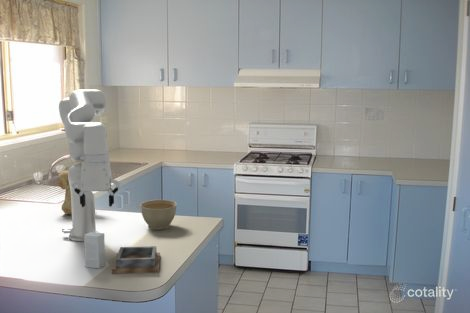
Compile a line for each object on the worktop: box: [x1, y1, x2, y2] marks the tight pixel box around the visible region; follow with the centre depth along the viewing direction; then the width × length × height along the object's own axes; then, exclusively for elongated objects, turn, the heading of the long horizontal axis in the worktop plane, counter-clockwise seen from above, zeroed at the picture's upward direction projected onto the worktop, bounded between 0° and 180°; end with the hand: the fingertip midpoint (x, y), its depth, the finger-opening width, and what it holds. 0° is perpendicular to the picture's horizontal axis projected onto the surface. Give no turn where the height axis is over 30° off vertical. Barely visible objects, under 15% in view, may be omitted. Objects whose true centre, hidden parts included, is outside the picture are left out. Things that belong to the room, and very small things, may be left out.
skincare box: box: [83, 232, 106, 269], centre depth 184 cm, size 6×4×12 cm
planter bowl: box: [140, 199, 178, 231], centre depth 231 cm, size 16×16×11 cm
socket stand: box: [111, 245, 161, 275], centre depth 186 cm, size 16×16×4 cm
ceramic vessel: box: [57, 169, 72, 216], centre depth 253 cm, size 17×20×25 cm
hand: (97, 206), depth 183 cm, fingers open, 9 cm apart
